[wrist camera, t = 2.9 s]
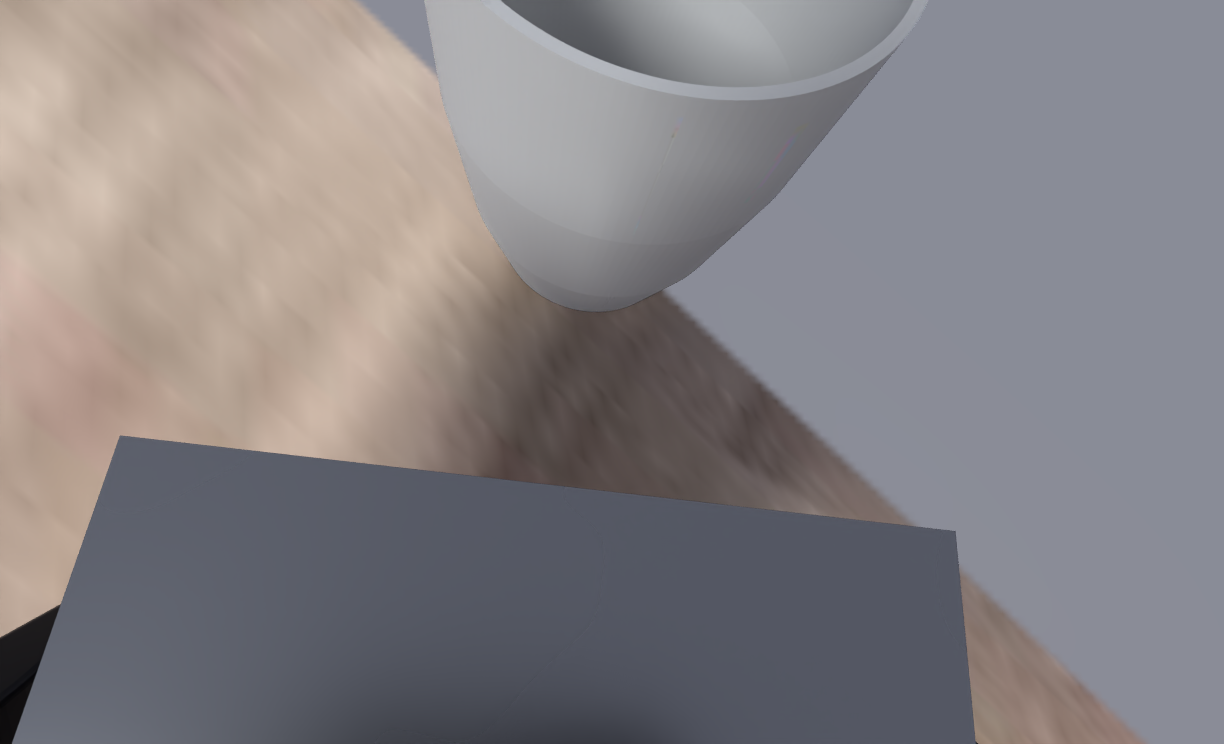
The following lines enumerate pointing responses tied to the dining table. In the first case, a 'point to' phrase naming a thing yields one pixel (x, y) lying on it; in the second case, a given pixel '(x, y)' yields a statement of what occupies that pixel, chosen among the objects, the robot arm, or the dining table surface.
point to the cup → (643, 123)
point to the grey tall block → (486, 614)
